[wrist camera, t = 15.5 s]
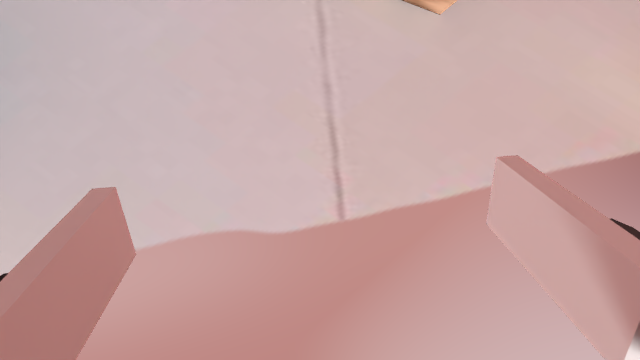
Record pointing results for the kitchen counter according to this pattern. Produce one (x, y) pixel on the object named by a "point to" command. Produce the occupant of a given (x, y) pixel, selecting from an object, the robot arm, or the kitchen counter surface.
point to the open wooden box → (433, 4)
